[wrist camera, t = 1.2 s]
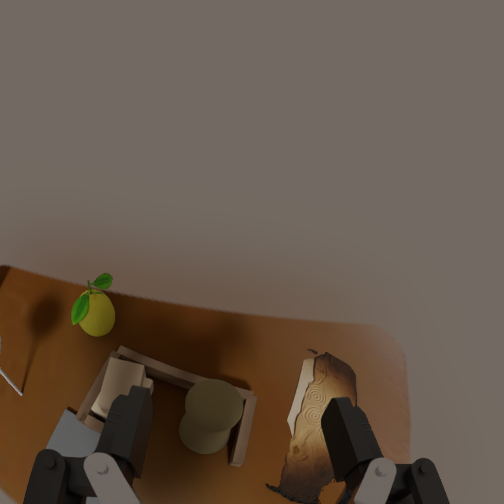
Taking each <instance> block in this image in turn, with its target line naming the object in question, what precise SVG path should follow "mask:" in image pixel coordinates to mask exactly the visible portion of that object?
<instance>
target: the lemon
mask: <svg viewBox="0 0 504 504" xmlns="http://www.w3.org/2000/svg"><path fill="white" fill-rule="evenodd" d="M112 280H113V278H112V276H111V275H110V274H108V273H104V274H102V275H100V276H99V277H98V278H97V279H96V280H95V281H94V282H93V283H92V284H90V283H89V280H88V286H89V290H87V291H85V292H83V293H82V294H81V296H80V297H79V298H78V299H77V300H76V302H75V303H74V306H73V308H72V313H71V319H72V323H73V325H74V324H77V323H79V324H80V326H81V327H82V328H83V330H84V331H85V332H87V333H88V334H89V335H91V336H95V337H98V336H103V335H106V334H107V333H109V332H110V331H111V329H112V328H113V326H114V323H115V311H114V307H113V305H112V303H111V301H110V299H109V298H108V297H107V296H106V295H105V294H104V293H103V292H101V291H99V290H95V289H91V286H90V285H94V286H96V287H98V288H100V289H107V288H109V287H110V285H111V283H112Z"/></svg>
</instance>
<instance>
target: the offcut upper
mask: <svg viewBox="0 0 504 504" xmlns="http://www.w3.org/2000/svg"><path fill="white" fill-rule="evenodd" d="M145 380H146V374H145V367H144V365H141V364H137V363H133V362H128V361H124V360H120V359H116V358H112V357H110V360H109V364H108V367H107V370H106V374H105V377H104V381H103V384H102V388H101V392H100V396H99V400H98V403H97V404H98V405H99V407H100V408H101V410H102V412H103V413H105V414H108V413H109V410H110V407H111V404H112V402H113V401H114V400H115V399H116V398H117V397H118V396H119V395H120V394H123V395H127V396H128V394H129V391H130V388H131V386H132V385H136V386H141V387H144V385H145Z"/></svg>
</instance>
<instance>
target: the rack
mask: <svg viewBox="0 0 504 504" xmlns="http://www.w3.org/2000/svg"><path fill="white" fill-rule="evenodd" d="M110 357H112V358H116V359H120V360H124V361H128V362H133V363H137V364H141V365H144V367H145V374H148V375H150V376H153V377H155V378H158V379H160V380H163V381H165V382H168V383H171V384H173V385H176V386H179V387H182V388H185V389H188V390H190V389H191V388H192V387H193V386H194V385H195V384H196V383H198V382H200V381H202V380H206V379H207V378H204V377H201V376H198V375H195V374H192V373H189V372H186V371H183V370H181V369H178V368H175V367H172V366H170V365H167V364H164V363H162V362H159V361H157V360H154V359H152V358H149V357H147V356H144V355H142V354H139V353H137V352H135V351H132V350H130V349H128V348H126V347H123V346H121V345H120V347H119V349H118V351H117V352H115V351H113V350H112V352H111V354H110V355H109V357H108V359H107V361H106V362H105V364H104V366H103V367H102V369H101V371H100V373H99V374H98V376H97V378H96V380H95V381H94V383H93V385H92V387H91V389H90V390H89V392H88V394H87V396H86V398H85V399H84V401H83V403H82V405H81V407H80V409H79V411H78V413H77V415H76V416H75V418H76V419H77V420H78V421H79V422H80V423H81V424H83V425H85V426H87V427H88V428H90V429H92V430H94V431H96V432H98V433H99V434H101V432H102V429H103V426H104V424H105V423H103V422H101V421H99V420H97V419H95V417H96V415H95V414H94V412H93V411H92V409H91V408H92V406H93V404H94V402H95V401H96V399H97V397H98V395H99V393H100V391H101V388H102V384H103V381H104V377H105V374H106V370H107V367H108V364H109V360H110ZM235 388H236V390H237V391H238V392H239V393H240V395H241V398H242V400H243V413H242V416H241V418H240V420H239V423H238V427H237V431H236V435H235V440H234V444H233V448H232V452H231V457H230V461H229V465H231V466H236V467H240V466H241V465H243V464H244V460H245V455H246V450H247V446H248V441H249V436H250V431H251V426H252V421H253V416H254V411H255V406H256V401H257V397H256V396H253V391H249V390H245V389H242V388H238V387H235Z"/></svg>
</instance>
